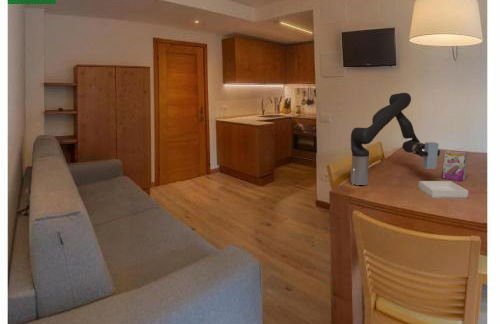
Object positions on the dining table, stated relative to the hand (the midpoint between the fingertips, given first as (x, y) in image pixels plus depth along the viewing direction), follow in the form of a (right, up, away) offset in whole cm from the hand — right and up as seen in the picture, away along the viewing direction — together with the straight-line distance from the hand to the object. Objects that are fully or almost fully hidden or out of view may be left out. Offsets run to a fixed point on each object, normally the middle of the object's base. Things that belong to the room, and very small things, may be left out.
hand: (432, 154), depth 172 cm
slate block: (+1, -7, +4) cm, 8 cm away
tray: (-2, -20, -10) cm, 23 cm away
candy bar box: (+21, -15, +14) cm, 29 cm away
